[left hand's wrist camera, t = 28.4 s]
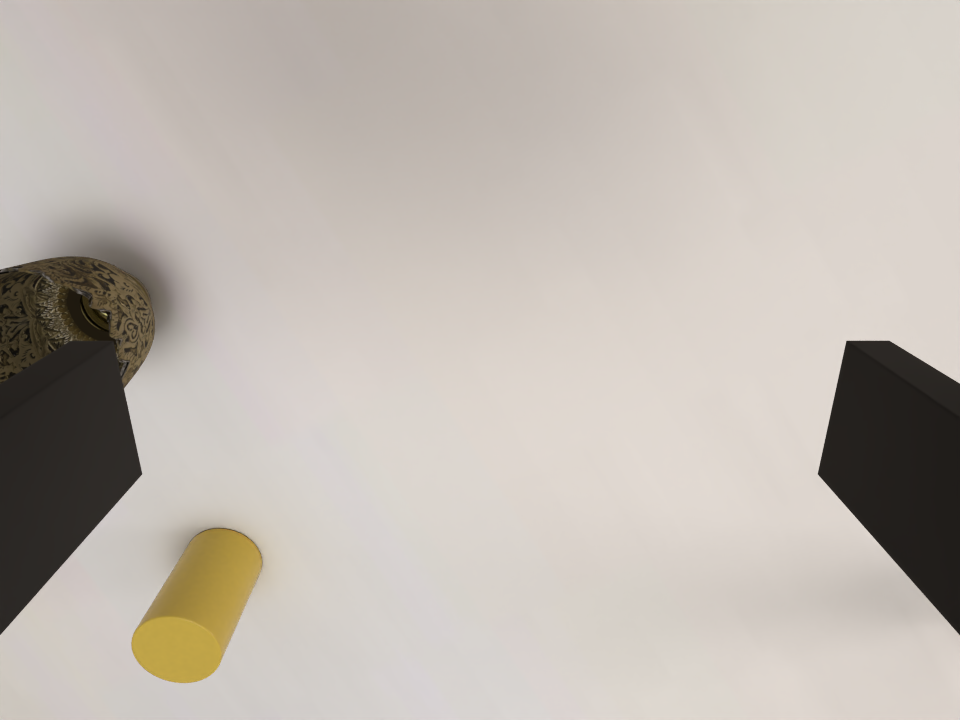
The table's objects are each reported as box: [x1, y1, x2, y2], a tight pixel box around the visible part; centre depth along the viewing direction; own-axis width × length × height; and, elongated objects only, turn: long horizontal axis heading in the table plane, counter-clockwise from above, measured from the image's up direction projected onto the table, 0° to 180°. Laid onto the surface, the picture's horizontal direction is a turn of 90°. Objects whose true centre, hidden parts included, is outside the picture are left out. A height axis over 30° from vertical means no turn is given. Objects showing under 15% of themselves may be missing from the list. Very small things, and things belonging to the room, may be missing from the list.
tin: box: [132, 529, 262, 683], centre depth 40 cm, size 5×5×8 cm
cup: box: [0, 257, 155, 388], centre depth 32 cm, size 8×7×8 cm
